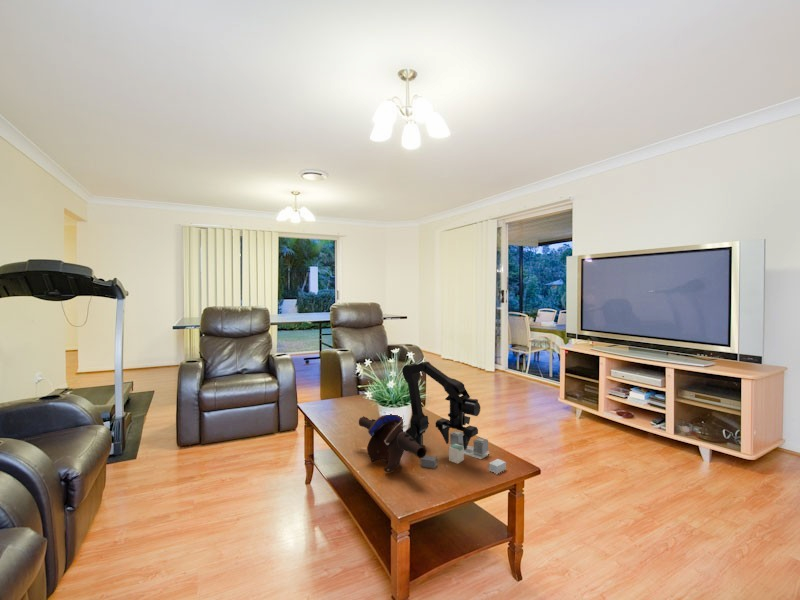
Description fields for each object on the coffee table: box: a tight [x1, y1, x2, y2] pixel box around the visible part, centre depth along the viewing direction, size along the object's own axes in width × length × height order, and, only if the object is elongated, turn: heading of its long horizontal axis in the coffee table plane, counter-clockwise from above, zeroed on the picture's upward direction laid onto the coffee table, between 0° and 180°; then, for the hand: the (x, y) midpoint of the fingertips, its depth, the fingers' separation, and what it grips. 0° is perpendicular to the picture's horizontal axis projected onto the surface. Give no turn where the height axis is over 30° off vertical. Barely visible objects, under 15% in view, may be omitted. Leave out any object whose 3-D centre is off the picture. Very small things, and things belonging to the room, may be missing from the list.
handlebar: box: [358, 414, 427, 473], centre depth 163 cm, size 45×13×20 cm, turn 37°
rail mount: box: [448, 430, 490, 460], centre depth 176 cm, size 7×17×7 cm, turn 49°
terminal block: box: [488, 458, 507, 475], centre depth 158 cm, size 6×4×4 cm, turn 129°
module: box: [448, 444, 465, 464], centre depth 167 cm, size 5×5×6 cm
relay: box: [420, 454, 438, 470], centre depth 162 cm, size 4×6×4 cm, turn 71°
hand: (456, 446), depth 167 cm, fingers open, 9 cm apart
